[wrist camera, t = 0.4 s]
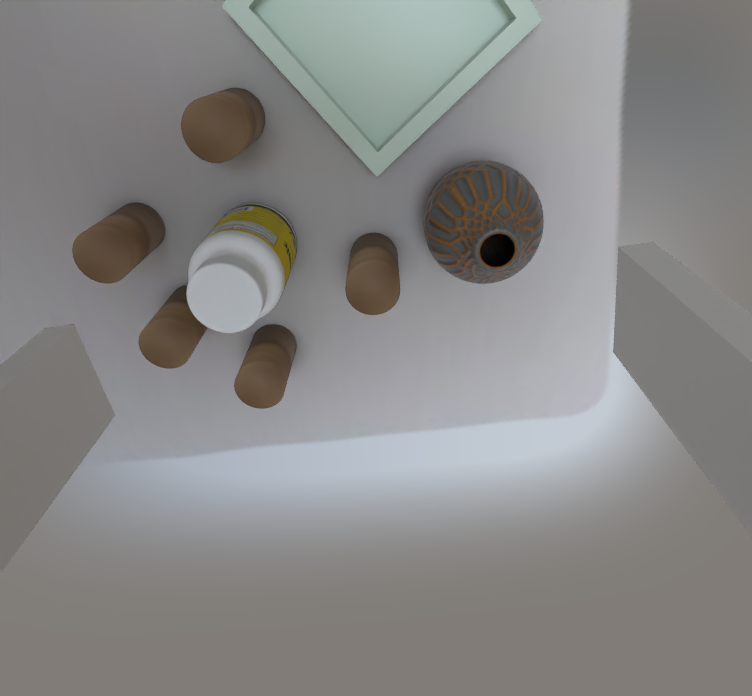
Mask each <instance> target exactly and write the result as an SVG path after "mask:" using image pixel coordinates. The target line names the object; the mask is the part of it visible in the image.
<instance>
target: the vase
mask: <svg viewBox="0 0 752 696" xmlns="http://www.w3.org/2000/svg"><path fill="white" fill-rule="evenodd" d="M543 223H544V220H543V210H542V205H541V202H540V199H539V197H538V194H537V192H536V191H535V189H534V187H533V186H532V185H531V184H530V182H529V181H528V180H527V179H526V178H525V177H524V176H523V175H522V174H520V173H519V172H518V171H516V170H515V169H513V168H511V167H509V166H507V165H504V164H501V163H498V162H493V161H476V162H471V163H467V164H464V165H462V166H459V167H457V168H455V169H454V170H452V171H451V172H449V173H448V174H447V175H445V176H444V177H443V178H442V179H441V180H440V181H439V183H438V184H437V185H436V186H435V188H434V189H433V191H432V193H431V194H430V196H429V199H428V201H427V204H426V208H425V213H424V232H425V237H426V241H427V244H428V247H429V249H430V251H431V253H432V255H433V257H434V258H435V259H436V261H437V262H438V263H439V264H440V265H441V266H442V267H443V268H444V269H445V270H446V271H447V272H449V273H450V274H452V275H453V276H455V277H457V278H459V279H462V280H464V281H468V282H472V283H479V284H487V283H495V282H499V281H502V280H505V279H507V278H509V277H511V276H513V275H515V274H516V273H518V272H519V271H520V270H521V269H523V268H524V267H525V266H526V265H527V264H528V262H529V261H530V260H531V259H532V257H533V256H534V254H535V253H536V251H537V249H538V246H539V244H540V241H541V238H542V233H543Z"/></svg>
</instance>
